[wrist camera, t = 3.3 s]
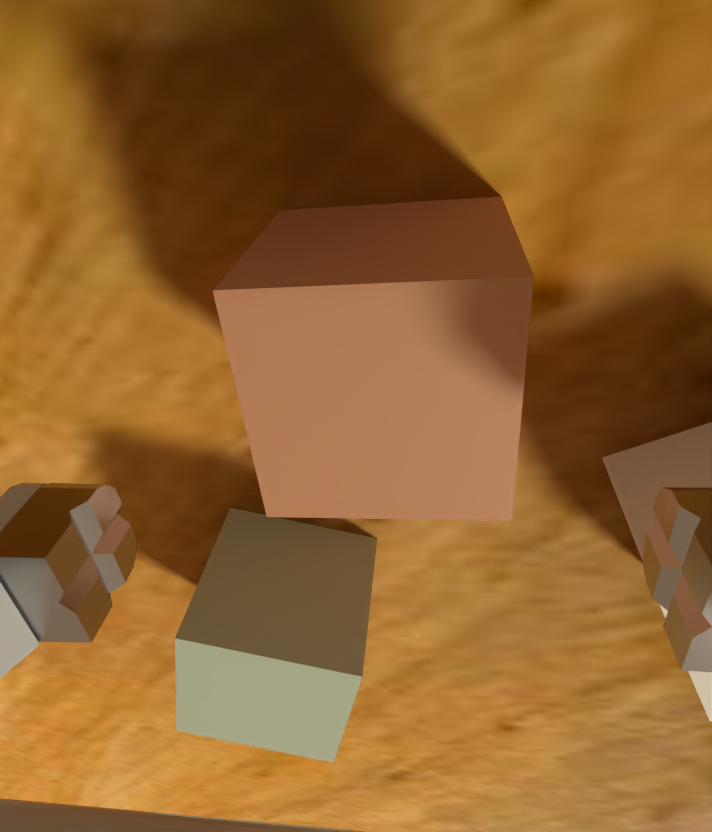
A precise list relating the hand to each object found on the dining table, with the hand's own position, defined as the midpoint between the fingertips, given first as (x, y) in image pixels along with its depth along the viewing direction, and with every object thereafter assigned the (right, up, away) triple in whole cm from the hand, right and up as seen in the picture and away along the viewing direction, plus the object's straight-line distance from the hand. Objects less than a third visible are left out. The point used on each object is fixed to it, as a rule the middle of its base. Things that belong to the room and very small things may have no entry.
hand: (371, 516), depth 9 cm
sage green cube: (-2, -4, +12) cm, 13 cm away
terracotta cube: (+1, +4, +6) cm, 7 cm away
